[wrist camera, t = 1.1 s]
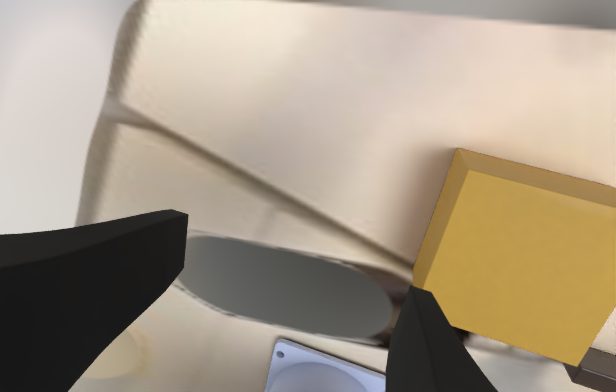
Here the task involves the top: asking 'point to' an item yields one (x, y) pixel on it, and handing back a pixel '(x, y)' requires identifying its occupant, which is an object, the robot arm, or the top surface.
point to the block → (522, 255)
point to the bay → (594, 371)
